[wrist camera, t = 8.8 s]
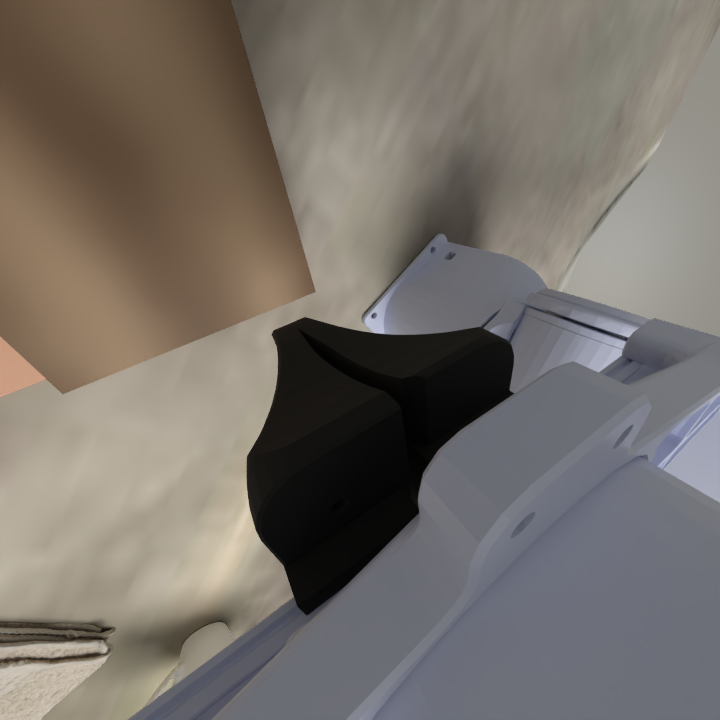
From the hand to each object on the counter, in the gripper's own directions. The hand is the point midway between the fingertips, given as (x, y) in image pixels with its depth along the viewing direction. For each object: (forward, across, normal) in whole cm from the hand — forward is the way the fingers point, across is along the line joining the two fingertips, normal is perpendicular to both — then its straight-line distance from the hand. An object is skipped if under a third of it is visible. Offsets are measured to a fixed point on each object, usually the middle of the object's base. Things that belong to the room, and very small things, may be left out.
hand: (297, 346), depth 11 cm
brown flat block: (+9, +3, -5) cm, 11 cm away
